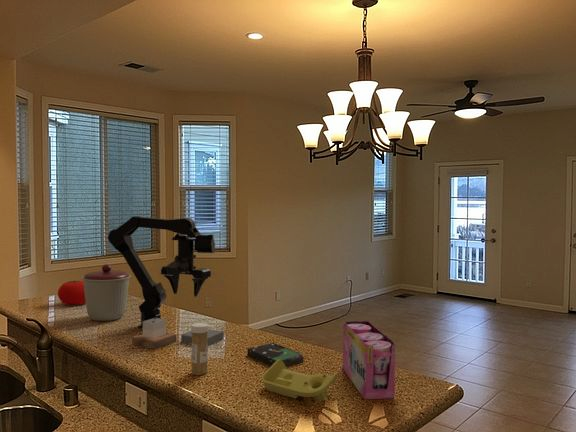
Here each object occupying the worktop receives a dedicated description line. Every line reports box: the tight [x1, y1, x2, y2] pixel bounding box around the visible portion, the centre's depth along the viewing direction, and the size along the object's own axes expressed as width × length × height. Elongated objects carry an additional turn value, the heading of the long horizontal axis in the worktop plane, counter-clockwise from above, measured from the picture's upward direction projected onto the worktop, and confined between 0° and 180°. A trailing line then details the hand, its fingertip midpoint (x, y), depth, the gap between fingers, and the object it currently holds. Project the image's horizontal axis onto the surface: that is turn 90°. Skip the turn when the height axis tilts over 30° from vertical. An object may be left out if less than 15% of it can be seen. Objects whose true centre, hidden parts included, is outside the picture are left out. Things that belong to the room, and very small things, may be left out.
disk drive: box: [247, 342, 304, 367], centre depth 150 cm, size 10×3×15 cm
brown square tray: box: [131, 332, 177, 350], centre depth 163 cm, size 10×10×2 cm
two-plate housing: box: [142, 317, 167, 339], centre depth 163 cm, size 6×4×5 cm
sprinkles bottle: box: [190, 322, 209, 376], centre depth 137 cm, size 5×5×13 cm
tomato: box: [57, 280, 86, 306], centre depth 217 cm, size 14×13×10 cm
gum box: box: [342, 320, 397, 400], centre depth 132 cm, size 24×8×14 cm, turn 8°
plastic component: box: [261, 360, 339, 403], centre depth 124 cm, size 20×7×10 cm
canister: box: [80, 263, 132, 322], centre depth 194 cm, size 18×18×21 cm
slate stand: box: [180, 328, 225, 347], centre depth 167 cm, size 10×10×2 cm
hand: (185, 295), depth 182 cm, fingers open, 9 cm apart
